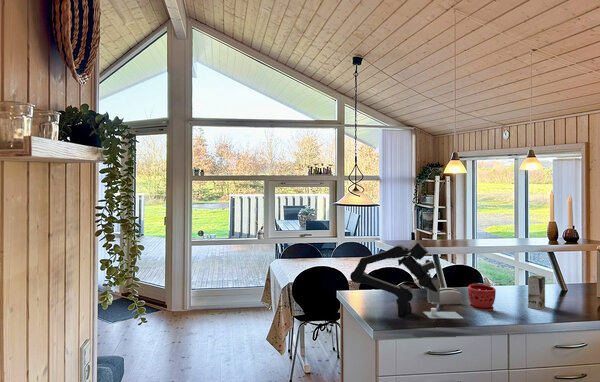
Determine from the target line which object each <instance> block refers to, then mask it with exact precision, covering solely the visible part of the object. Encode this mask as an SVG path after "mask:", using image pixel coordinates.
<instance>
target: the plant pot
mask: <svg viewBox="0 0 600 382" xmlns="http://www.w3.org/2000/svg"><path fill="white" fill-rule="evenodd" d="M496 290H497V289H496V288H495V287H494V286H490V285H486V284H469V285H468V287H467V294H468V295H467V296H468V300H469V307H470V308H472V309H473V310H474V309H475V310H479V311H487V312H488V313H490V312H491V313H492V311H494V304H495V300H496V295H497V293H496Z"/></svg>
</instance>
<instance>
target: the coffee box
mask: <svg viewBox="0 0 600 382" xmlns="http://www.w3.org/2000/svg"><path fill="white" fill-rule="evenodd" d="M527 282H528V283H527V307H528V308H529V309H535V310H539V309H540V311H541V310H542V309H544V308H545V307H546V276H543V275H530V276H528V277H527ZM543 307H544V308H543Z"/></svg>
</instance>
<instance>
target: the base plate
mask: <svg viewBox="0 0 600 382" xmlns="http://www.w3.org/2000/svg"><path fill="white" fill-rule="evenodd" d="M423 313H424V315H426V316H427V318H429V319H464V317H463V316H461V315H460V314H459V313H457V312H456V311H437V308H436V307H431V308H430V311H423Z"/></svg>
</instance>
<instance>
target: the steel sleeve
mask: <svg viewBox="0 0 600 382" xmlns="http://www.w3.org/2000/svg"><path fill="white" fill-rule="evenodd" d="M431 278H432V283H433V284H434V286H435V287H436V289H437V290H438V291H437V292H434V291H432V290H430V289H428V288H427V302H440V288H441V287H440V286H441V280H440V277H431Z"/></svg>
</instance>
